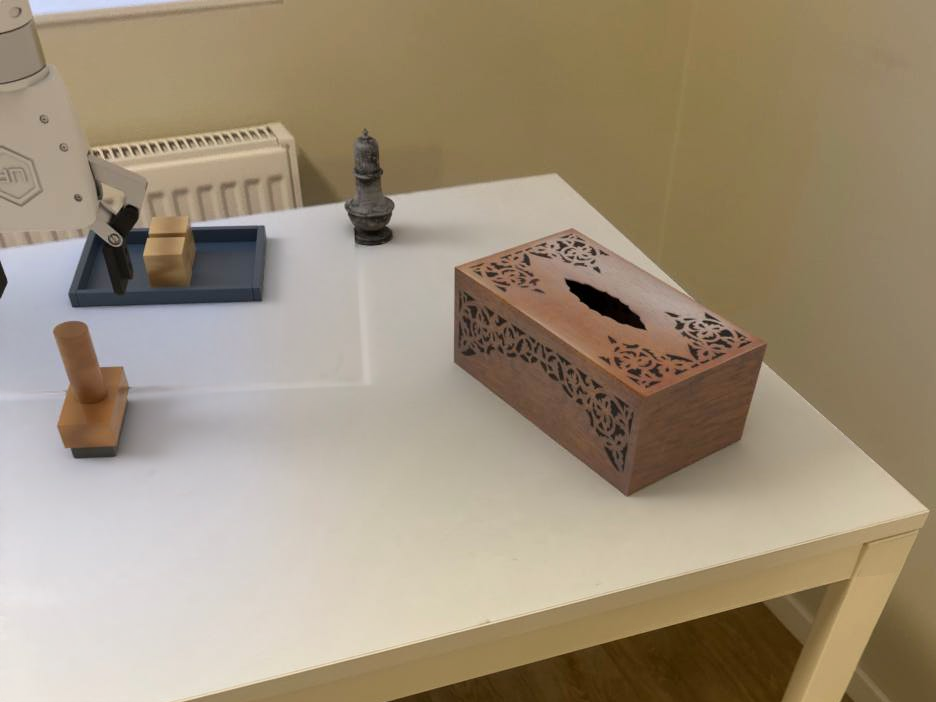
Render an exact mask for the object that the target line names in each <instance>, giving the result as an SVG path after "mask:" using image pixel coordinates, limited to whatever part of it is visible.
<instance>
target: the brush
mask: <svg viewBox="0 0 936 702" xmlns="http://www.w3.org/2000/svg"><path fill="white" fill-rule="evenodd" d="M52 335H53V337H54V340H55V343H56V346H57V350H58V352H59V355H60V357H61V361H62V364H63V368H64V370H65V373H66V376H67V379H68V382H69V384H68V388H67V391H66V395H65V398H64V401H63V404H62V407H61V411H60V415H59V417H58V421H57V424H56V428H57V430H58V433H59V435H60V439H61V441H62V444H63V447H64V449H70V451H71V454H72V457H73V459H83V458H102V457H103V458H104V457H105V458H106V457H116V455H117V450H118V446H119V443H120V437H121V432H122V428H123V424H124V419H125V415H126V410H127V406H128V402H129V400H128V396H129V391H130V385H129V382H128V378H127V376H126V375H127V374H126V371H125V368H124V366H122V365H120V366H118V365H117V366H100V362H99V359H98V356H97V353H96V349H95V346H94V343H93V340H92V336H91V333H90V330H89V326H88V325H87V324H86V322H83V321H80V320H68V321H63V322H61V323H58V324H57V325H56V326H55V327H54V328H53V330H52Z"/></svg>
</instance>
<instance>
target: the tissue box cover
mask: <svg viewBox="0 0 936 702" xmlns="http://www.w3.org/2000/svg"><path fill="white" fill-rule="evenodd" d="M453 281H454V283H453V284H454V288H453V290H454V291H453V294H454V295H453V296H454V298H453V299H454V300H453V302H454V303H453V363H455V364H456V365H458V366H459V367H460V368H461V369H463V370H464V371H465V372H466V373H468V374H469V375H470V376H472V378H474V379H475V380H476V381H478V382H479V383H480V384H482V385H483V386H484V387H486V388H487V389H489V391H490V392H492V393H493V394H495V395H496V396H497V397H499V398H500V399H501V400H502V401H504V402H505V403H506V404H507V405H509V406H510V407H512V408H513V409H514V410H515V411H516V412H518V414H520V415H521V416H523V417H524V418H525V419H527V420H528V421H529V422H531V423H532V424H533V425H535V426H536V427H537V428H538V429H540V430H541V431H542V432H543V433H545V434H546V435H547V436H549V437H550V438H551V439H552V440H554V441H555V442H556V443H557V444H559V445H560V446H561V447H563V448H564V449H565V450H566V451H568V452H569V453H571V455H572V456H574V457H575V458H576V459H578V460H580V462H582V463H583V464H585V465H586V466H587V467H588V468H590V469H591V470H592V471H594V472H595V474H598V475H599V476H600V477H601V478H602V479H604V480H605V481H606V482H607V483H609V484H610V485H612V486H613V487H614V488H615V489H617V490H618V491H619V492H620V493H622V494H623V495H624V496H625V497H628V496H630V495H633V494H634V493H636V492H638V491H640V490H642V489H644V488H646V487H648V486H650V485H652V484H653V483H656V482H658V481H660V480H663V479H664V478H666V477H668V476H670V475H672V474H674V473H676V472H678V471H680V470H683V469H684V468H686V467H688V466H690V465H692V464H694V463H696V462H699V461H700V460H702V459H705V458H706V457H708V456H711V455H712V454H714V453H716V452H719V451H720V450H722V449H725V448H726V447H729V446H730V445H732V444H734V443H737V442H738V441H740V440H742V436H743V433H744V429H745V426H746V422H747V419H748V415H749V411H750V408H751V404H752V401H753V397H754V393H755V391H756V387H757V382H758V380H759V375H760V372H761V368H762V365H763V361H764V357H765V354H766V349H767V346H768V342H767V341H766V340H763V339H761V338H760V337H758V336H756V335H754V334H753V333H751V332H750V331H748V330H747V329H744V328H743V327H742V326H739V325H738V324H736V323H735V322H733V321H732V320H731V321H730V320H729V319H728V318H726V317H724V316H723V315H721V314H719V313H717V312H716V311H714V310H712V309H710V308H708V307H707V306H705V305H704V304H702V303H700V302H699V301H697V300H695V299H694V298H692V297H691V296H688V295H687V294H685V293H684V292H682V291H680V290H678V289H677V288H675V287H673V286H672V285H670V284H668V283H666V282H665V281H663V280H662V279H660V278H658V277H656V276H654V275H653V274H651V273H649V272H647V271H646V270H645V269H642V268H641V267H639V266H638V265H636V264H634V263H633V262H631V261H629V260H628V259H626V258H624V257H623V256H620V255H619V254H617V253H616V252H614V251H612V250H611V249H609V248H607V247H605V246H604V245H602V244H600V243H598V242H597V241H595V240H593V239H592V238H590V237H589V236H586V235H585V234H583V233H582V232H580V231H578V230H576V229H575V228H573V227H571V228H568V229H565V230H561V231H560V232H556V233H552V234H549V235H546V236H544V237H540V238H538V239H534V240H531V241H529V242H525V243H523V244H519V245H516V246H513V247H511V248H508V249H505V250H502V251H498V252H495V253H492V254H489V255H486V256H483V257H480V258H478V259H474V260H472V261H468V262H465V263H461V264H459V265H456V266H454V280H453Z"/></svg>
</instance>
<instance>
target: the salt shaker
mask: <svg viewBox="0 0 936 702" xmlns="http://www.w3.org/2000/svg"><path fill="white" fill-rule="evenodd" d="M361 132H362V135H361V136H359V137H358V138H356V139H355V140H354V141H353V156H354V157H353V158H354V167H352V170H351V174H352V176H354V182H355V183H354V185H355V191H354V195H353V196H352V197H350V198H348V199H347V200H345V202H344V210H345V212H347V217H348V218H349V221H350V222H351V224H352V225H353V226H354V227H353V235H354V243H356V244H359V245H363V246H377V245H378V246H380V245H382V244H386V243H388V242H390V241H391V240H392V239H393V238H394V231H393V230H392V229H391V228H390V227H388V226H387V225H389V223H390V221H391V219H392V216H393V211H394V210H395V206H396V205H395V202H394V200H392V199H391V198H390V197H388V196H386V195H384V193H383V190H382V176H383V174H384V170H383V168H382V167H381V165H380V150H379V149H380V148H379V147H380V146H379V142H378V140H377V139H376V138H374V137H372V136H371V135H368V134H369V131H368V129H367V128H366V127H365V128H364V129H363V130H362V131H361Z"/></svg>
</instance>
